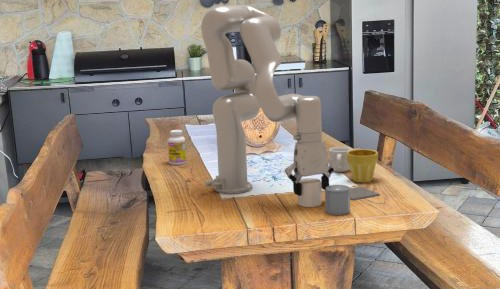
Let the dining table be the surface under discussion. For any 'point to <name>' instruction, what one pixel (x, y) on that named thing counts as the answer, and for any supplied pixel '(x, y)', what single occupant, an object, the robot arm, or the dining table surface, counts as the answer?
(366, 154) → the plant pot
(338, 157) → the cup
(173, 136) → the supplement bottle
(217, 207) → the dining table surface
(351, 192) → the coaster
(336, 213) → the beaker
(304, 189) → the beaker
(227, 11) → the robot arm
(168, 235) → the dining table surface
